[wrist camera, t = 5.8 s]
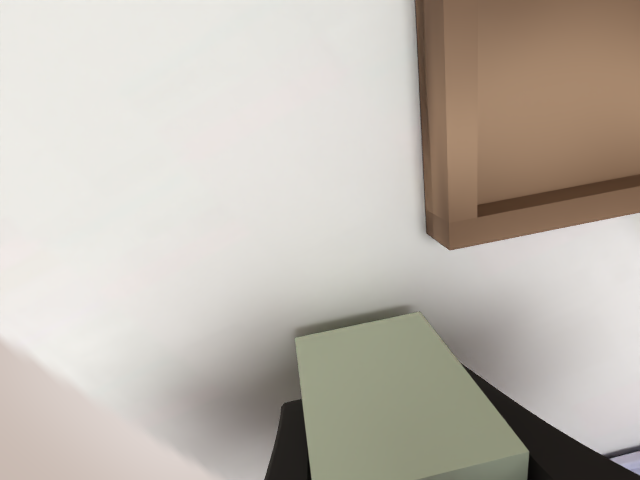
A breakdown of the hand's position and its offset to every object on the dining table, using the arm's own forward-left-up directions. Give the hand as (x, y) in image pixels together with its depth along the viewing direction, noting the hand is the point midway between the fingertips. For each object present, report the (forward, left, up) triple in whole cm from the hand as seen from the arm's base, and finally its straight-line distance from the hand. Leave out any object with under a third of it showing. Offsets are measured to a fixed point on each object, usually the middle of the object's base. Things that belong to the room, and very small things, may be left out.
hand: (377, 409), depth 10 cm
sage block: (0, 0, -1) cm, 1 cm away
